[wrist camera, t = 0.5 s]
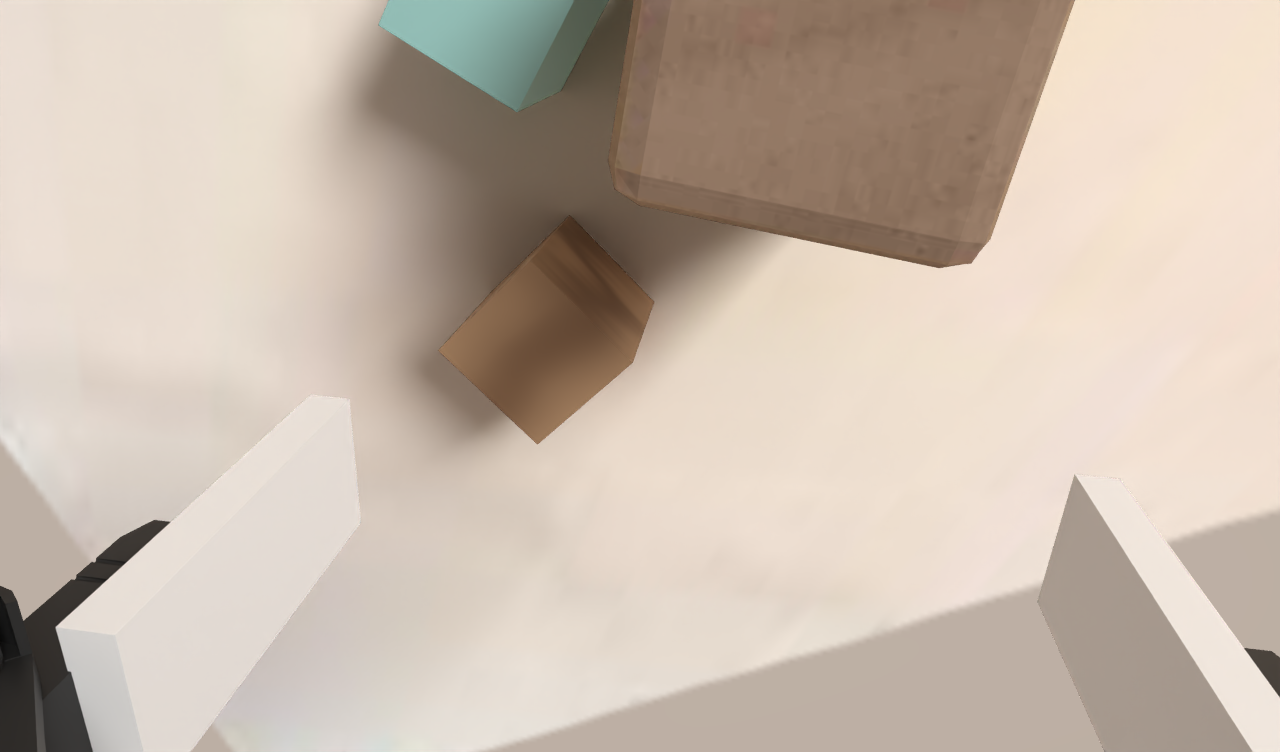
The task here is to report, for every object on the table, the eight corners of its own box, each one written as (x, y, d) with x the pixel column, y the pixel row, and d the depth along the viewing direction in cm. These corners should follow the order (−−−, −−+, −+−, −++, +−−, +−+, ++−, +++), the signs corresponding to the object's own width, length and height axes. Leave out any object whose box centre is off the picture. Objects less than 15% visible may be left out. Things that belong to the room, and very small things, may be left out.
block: (886, 154, 40) (985, 288, 22) (671, 110, 41) (595, 206, 22) (957, -90, 36) (1152, -175, 18) (717, -136, 37) (669, -263, 18)
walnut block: (490, 293, 45) (438, 350, 38) (569, 214, 43) (530, 260, 36) (573, 373, 47) (537, 444, 39) (654, 301, 45) (632, 362, 37)
